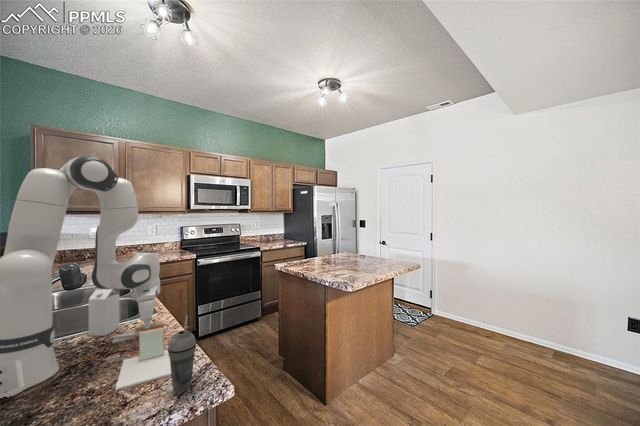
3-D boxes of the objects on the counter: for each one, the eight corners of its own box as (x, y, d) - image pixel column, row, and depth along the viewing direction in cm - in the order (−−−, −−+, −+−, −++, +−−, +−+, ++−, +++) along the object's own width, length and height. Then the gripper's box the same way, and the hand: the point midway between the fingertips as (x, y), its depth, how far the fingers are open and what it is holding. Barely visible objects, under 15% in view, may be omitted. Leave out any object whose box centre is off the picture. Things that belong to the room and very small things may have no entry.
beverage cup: (169, 382, 75) (169, 313, 76) (197, 376, 78) (197, 310, 78) (164, 398, 68) (164, 323, 69) (195, 392, 71) (195, 318, 71)
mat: (115, 390, 72) (115, 388, 72) (123, 361, 86) (123, 359, 86) (173, 374, 79) (173, 372, 79) (172, 350, 94) (171, 348, 94)
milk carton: (103, 328, 112) (103, 284, 113) (119, 328, 112) (119, 284, 112) (88, 336, 105) (88, 289, 105) (105, 336, 105) (105, 289, 105)
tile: (139, 361, 85) (139, 334, 85) (139, 358, 87) (139, 331, 87) (163, 355, 89) (163, 329, 89) (163, 353, 90) (163, 327, 91)
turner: (114, 337, 104) (114, 329, 104) (164, 327, 113) (164, 320, 113) (112, 343, 99) (112, 335, 99) (164, 333, 108) (164, 325, 108)
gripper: (141, 285, 115) (142, 316, 115) (135, 298, 97) (136, 335, 97) (158, 283, 118) (158, 313, 118) (155, 295, 100) (156, 330, 100)
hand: (148, 323), depth 107 cm, fingers open, 8 cm apart
